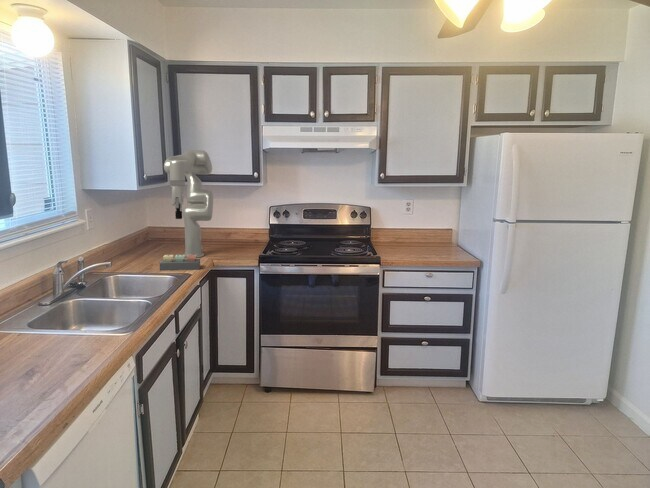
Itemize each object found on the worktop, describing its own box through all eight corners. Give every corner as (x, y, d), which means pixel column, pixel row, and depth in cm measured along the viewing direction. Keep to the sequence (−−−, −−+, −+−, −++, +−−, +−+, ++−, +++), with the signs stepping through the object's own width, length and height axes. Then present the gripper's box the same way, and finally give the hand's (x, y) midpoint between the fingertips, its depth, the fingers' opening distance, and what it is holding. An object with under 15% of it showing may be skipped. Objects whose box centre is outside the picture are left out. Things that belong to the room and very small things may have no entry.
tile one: (163, 265, 226) (163, 256, 225) (164, 263, 231) (164, 254, 230) (172, 265, 227) (172, 256, 226) (174, 263, 232) (173, 254, 231)
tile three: (186, 265, 229) (186, 255, 228) (187, 263, 233) (187, 254, 233) (196, 265, 230) (195, 255, 229) (196, 263, 234) (196, 253, 234)
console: (159, 270, 224) (159, 263, 223) (162, 266, 233) (162, 259, 232) (199, 269, 229) (198, 262, 228) (200, 265, 237) (200, 258, 237)
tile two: (175, 265, 227) (174, 256, 227) (176, 263, 232) (175, 254, 231) (184, 265, 229) (184, 255, 228) (185, 263, 233) (185, 254, 232)
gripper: (172, 183, 229) (173, 217, 232) (168, 184, 215) (169, 220, 218) (186, 183, 231) (187, 217, 234) (183, 184, 216) (184, 220, 220)
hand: (178, 218), depth 226 cm, fingers closed
